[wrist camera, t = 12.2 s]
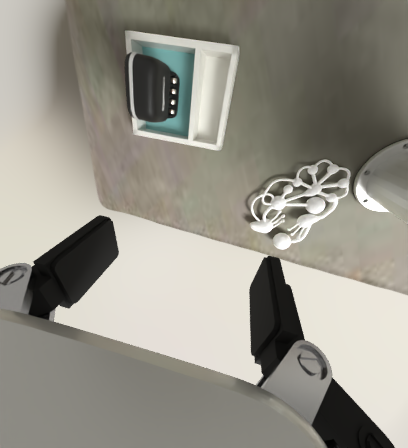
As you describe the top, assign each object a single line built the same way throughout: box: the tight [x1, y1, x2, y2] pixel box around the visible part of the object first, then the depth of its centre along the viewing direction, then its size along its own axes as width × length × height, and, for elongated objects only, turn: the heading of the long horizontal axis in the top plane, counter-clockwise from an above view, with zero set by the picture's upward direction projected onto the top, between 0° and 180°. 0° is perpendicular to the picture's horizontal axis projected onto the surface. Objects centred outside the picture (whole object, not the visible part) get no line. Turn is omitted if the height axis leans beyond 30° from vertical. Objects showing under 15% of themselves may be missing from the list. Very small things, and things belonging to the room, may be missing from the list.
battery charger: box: [125, 52, 180, 123], centre depth 25 cm, size 7×4×11 cm, turn 169°
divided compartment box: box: [125, 30, 240, 151], centre depth 28 cm, size 16×13×4 cm
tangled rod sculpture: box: [250, 159, 351, 249], centre depth 35 cm, size 19×14×4 cm
